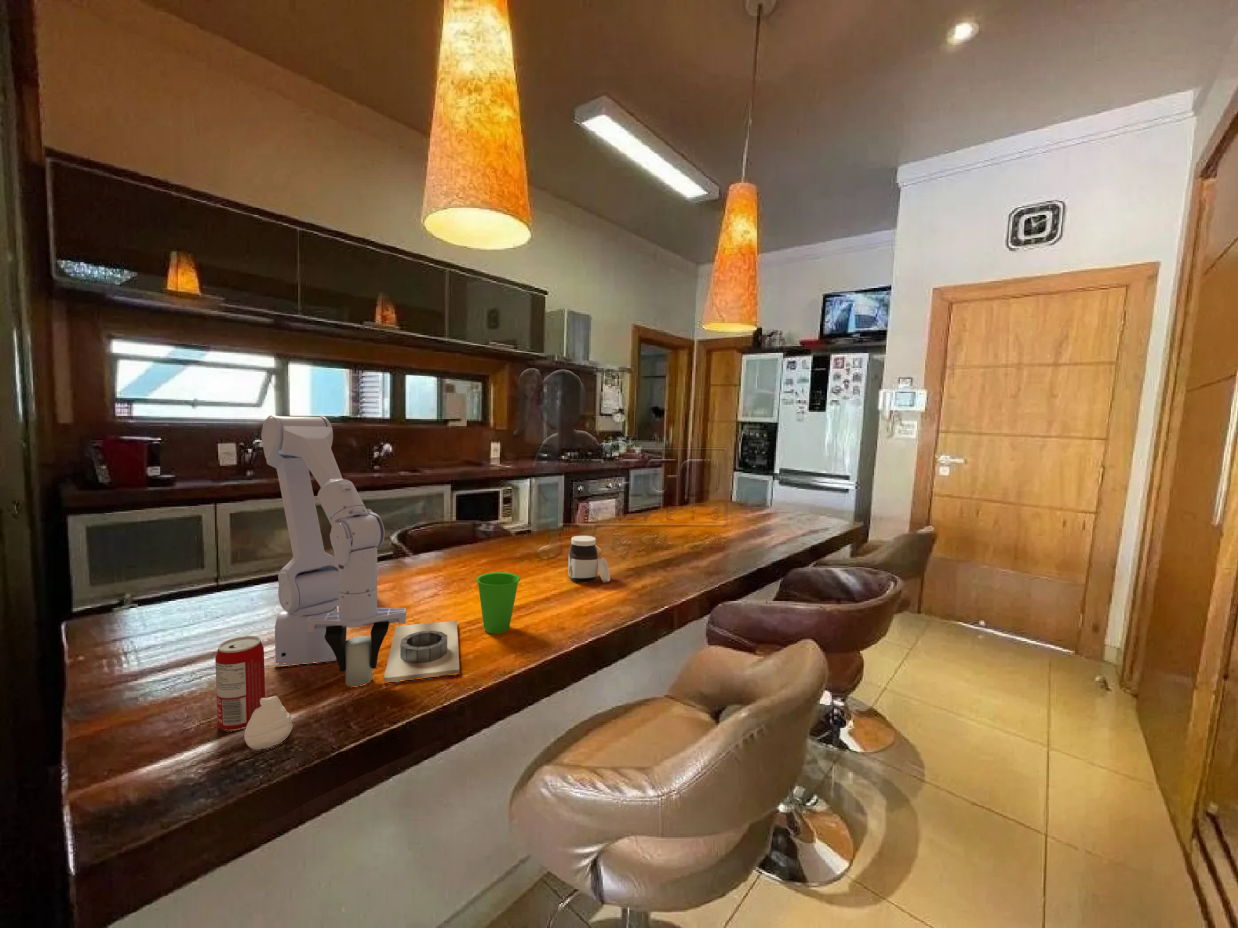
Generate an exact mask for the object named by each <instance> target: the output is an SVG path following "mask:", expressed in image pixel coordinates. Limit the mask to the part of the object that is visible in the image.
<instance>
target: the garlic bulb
mask: <svg viewBox="0 0 1238 928" xmlns="http://www.w3.org/2000/svg"><path fill="white" fill-rule="evenodd" d="M260 704H261V707H259V708H257V709H256V710H255V711H254V712H253V714H252V716H251V718H250V720H249V722H248V724H247V726H246V729H244V735H243V736H244V737H243V739H244V741H245V743H246V745H247V746H248V747H249V748H250V749H252V748H254V749H259V748H266V747H270V746H273V745H276V744H278V743H279V742H282V741H283V740H285V739H286V738H287V739H288V736H289V735H290V734H291V731H292V730H293V727H294V725H293V723H292V715H291V714H290V713H289V712H288V711H287V708H286V707H285V706H283V704H282V701H281V700H280V698H279V697H278V696H277V695H275V696H274V695H273V696H270V697H265V698H261V699H260ZM287 739H286V740H287ZM286 740H285V741H286Z"/></svg>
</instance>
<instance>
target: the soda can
mask: <svg viewBox="0 0 1238 928" xmlns="http://www.w3.org/2000/svg"><path fill="white" fill-rule="evenodd" d="M216 651H217V652H216V654H215V659H214V661H215V681H216V682H215V683H216V684H215V685H216V687H215V690H216V711H217V716H216V717H217V726H219V727H218V729H221V730H223V729H227V730H230V729H238V728H242V727H246V726H247V724H248V722H249V720H250V718H251V716H252V714H253V712H254V711H255V710H256V709H257V708H259V707H261V704H260V699H261V698H266V680H265V679H266V677H265V676H266V675H265V674H266V673H265V672H266V671H265V648H264V644H263V642H262V640H261V637H259V636H257V635H245V636H237V637H234V638H230V639H227V640H225V641H222V642H221V643H220V644H219V645H218V646H217V650H216Z"/></svg>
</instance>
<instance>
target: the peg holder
mask: <svg viewBox="0 0 1238 928" xmlns="http://www.w3.org/2000/svg"><path fill="white" fill-rule="evenodd" d="M458 637H459V635H458V621H457V620H450V621H449V620H448V621H438V622H428V623H416V624H404V625H403V624H402V625H396V626H395V629H394V633H393V638H392V642H391V646H390V650H389V653H388V658H387V663H386V667H385V671H384V675H383V676H384V677H383V683H384V682H390V681H400V680H410V679H416V678H423V677H431V676H437V675H445V674H454V673H459V674H460V658H459V657H460V655H459V653H460V652H459V638H458Z"/></svg>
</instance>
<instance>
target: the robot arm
mask: <svg viewBox="0 0 1238 928" xmlns="http://www.w3.org/2000/svg"><path fill="white" fill-rule="evenodd" d="M260 434H261V435H260V439H261V441H262V447H263V448H262V449H263V453H264V458H265V459H266V465H268V466H271V467H272V468H274V469H276V472H277V474H276V475H277V477H278V478H277V479H278V482H279V487H280V488H279V489H280V493H281V499H282V504H283V509H284V515H285V521H286V525H287V530H288V532H287V533H288V536H289V540H290V541H289V542H290V546H291V551H292V552H291V553H292V558H291V559H290V560H289V562H288V563H287V564H285V565H284V566H283V567H282V569H280V571H279V572H278V576H277V578H278V588H277V589H278V590H277V596H278V601H279V604H280V606H281V608H282V609H283V610H280V611H279V612H278V614H277V616H276V619H275V626H274V647H275V649H274V650H275V651H274V653H275V657H274V658H275V659H274V660H275V663H279V664H278V665H292V664H303V663H313V662H326V661H334V660H335V661H337V664H338V667H339V672H340V673H344V672H345V642H346V641H347V632H348V631H347V630H348V628H349V629H351V628H360V627H363V626H370V625H371V626H372V627H371V630H370V637H371V644H372V656H371V669H372V670H373V669H376V668H377V664H378V659H379V658H378V657H379V653H380V649H381V646H382V644H383V641H384V639H385V637H386V635H387V633H388V630H389V627H390V624H394V623H397V624H400V625H401V624H402V625H403V624H406V621H407V608H405V607H403V608H388V607H387V608H386V607H378V548H379V547H381V546H382V545H383V543H384V540H385V535H386V534H385V533H386V532H385V530H386V529H385V526H384V523H383V521H382V518H381V516H380V515H379V514H377V513H376V512H373V511H372V509H370V508H366V505H365V503H364V502H363V500H362V498H361V496H360V494H359V492H358V491H357V488H356V487H355V485H354V483H353V482H352V481H350V480H349V479H344V478H343V476H342V473H341V470H340V469H339V466H338V463H337V461H336V458H335V455H334V452H333V451H332V446H333V441H334V431H333V426H332V424H331V422H330V420H329V419H328V418H327V417H325V416H321V415H320V416H284V415H283V416H281V415H280V416H279V415H278V416H277V415H273V414H272V415H268V417H266V419H265V420H264V421H263V424H262V428H261V433H260ZM310 473H311V474H312V476H313V477H314V478H315V481H316V482H317V483H318V485H319V487H320V488H319V490H318V492H317V499H318V501H319V503H320V505H321V507H322V509H323V510H322V511H324V513H325V516H326V518H327V519H328V522H329V524H330V525H331V529H330V533H329V539H330V543H331V547H332V549H333V555H332V554H331V553H328V552H326V551H325V546H324V541H323V536H322V532H321V527H320V521H319V516H318V512H317V511H318V510H317V506H316V501H315V495H314V490H313V485H312V479H311V476H310ZM316 570H317V571H316ZM311 571H313V572H311ZM306 572H309V573H306ZM302 573H304V574H302ZM299 574H300V575H299ZM335 661H334V662H335ZM275 663H274V665H276V664H275ZM283 663H286V664H283ZM326 663H327V662H326Z"/></svg>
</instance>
